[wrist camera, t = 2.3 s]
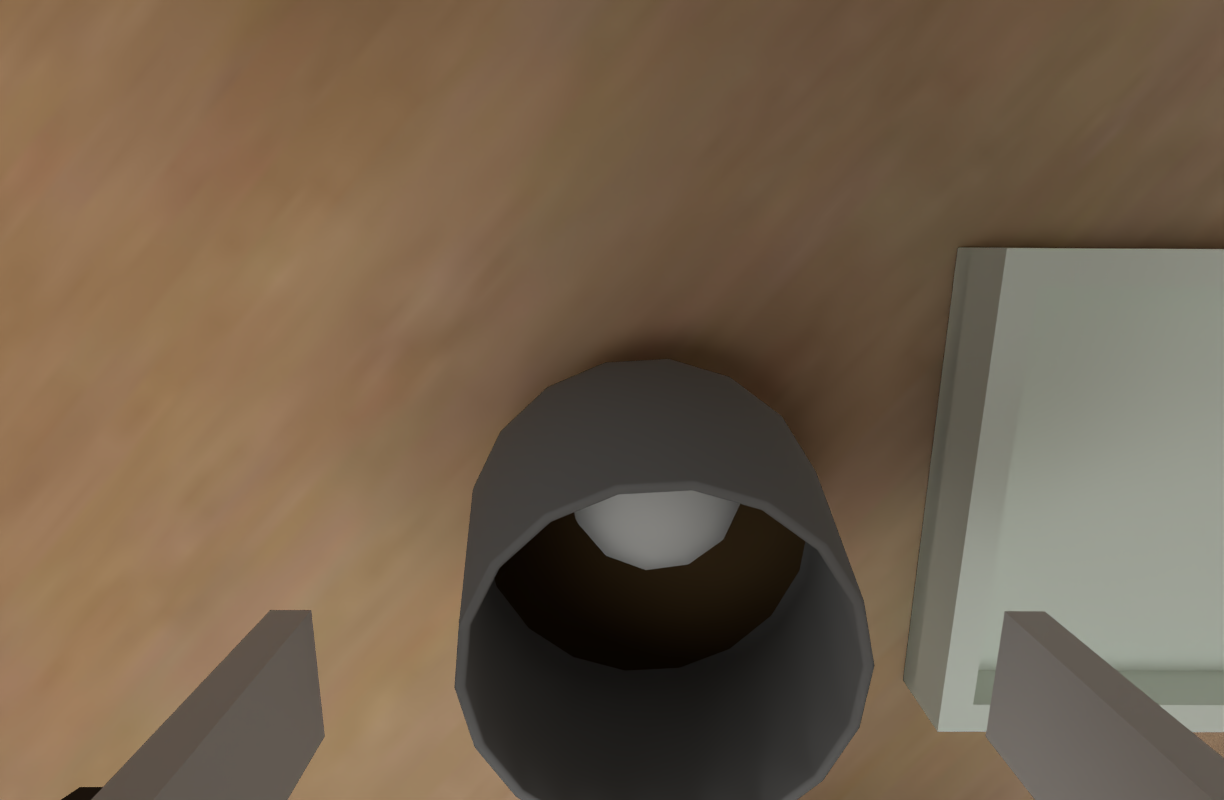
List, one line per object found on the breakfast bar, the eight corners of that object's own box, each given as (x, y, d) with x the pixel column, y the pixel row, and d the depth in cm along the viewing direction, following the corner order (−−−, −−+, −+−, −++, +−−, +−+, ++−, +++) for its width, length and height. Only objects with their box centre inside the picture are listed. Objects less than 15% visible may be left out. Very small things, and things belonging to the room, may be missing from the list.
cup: (509, 320, 20) (415, 392, 10) (805, 354, 20) (983, 456, 11) (487, 594, 22) (392, 865, 13) (755, 622, 23) (864, 907, 13)
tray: (957, 247, 20) (1006, 248, 17) (1451, 250, 20) (1570, 250, 17) (903, 680, 23) (937, 731, 21) (1322, 681, 23) (1405, 732, 21)
